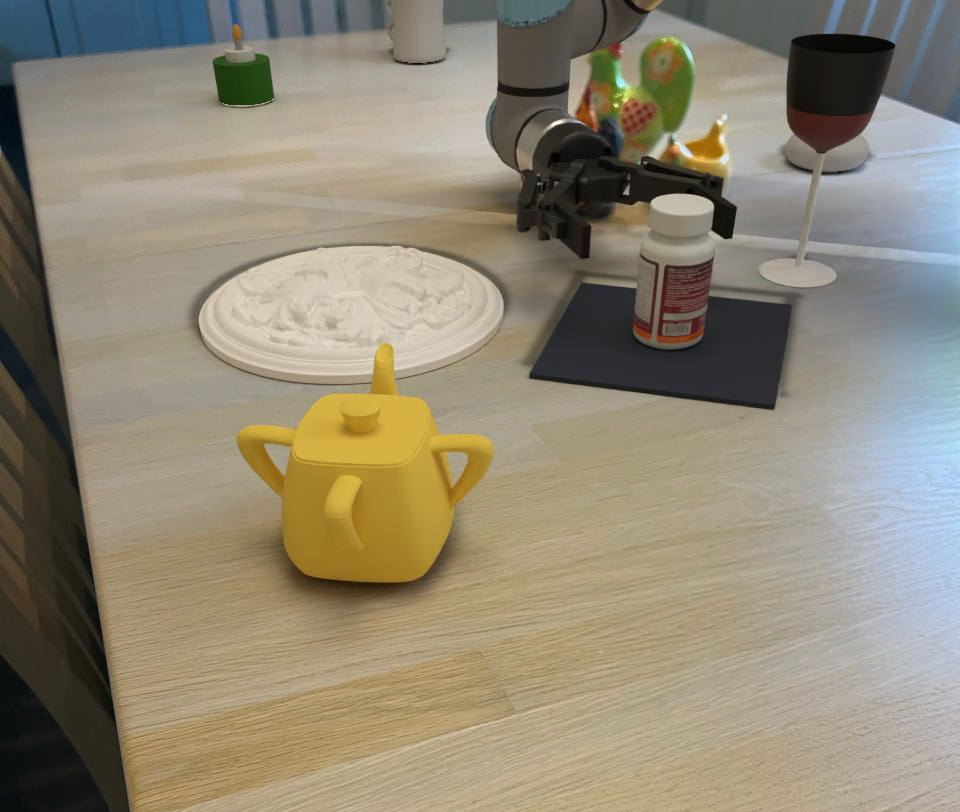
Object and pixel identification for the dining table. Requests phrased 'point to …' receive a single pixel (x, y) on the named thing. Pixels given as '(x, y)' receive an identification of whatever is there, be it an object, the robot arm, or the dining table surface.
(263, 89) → the candle
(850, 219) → the dining table surface
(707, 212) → the pill bottle
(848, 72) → the wineglass
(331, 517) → the teapot
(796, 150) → the donut
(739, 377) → the mat
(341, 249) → the ceiling medallion
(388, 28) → the mug
